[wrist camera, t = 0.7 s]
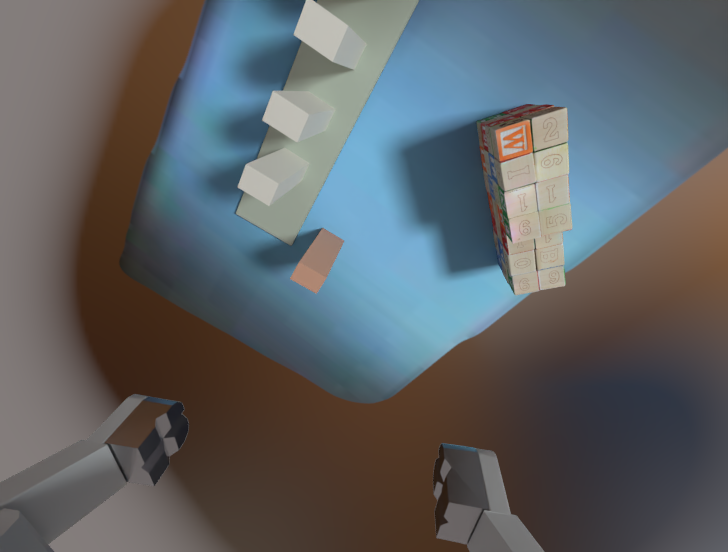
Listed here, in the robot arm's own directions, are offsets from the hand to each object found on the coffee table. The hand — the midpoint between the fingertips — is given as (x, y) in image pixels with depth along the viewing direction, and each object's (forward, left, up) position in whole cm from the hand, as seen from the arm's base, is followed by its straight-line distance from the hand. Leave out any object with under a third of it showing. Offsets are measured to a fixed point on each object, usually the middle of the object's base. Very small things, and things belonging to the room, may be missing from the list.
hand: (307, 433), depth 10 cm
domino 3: (+7, -12, -40) cm, 43 cm away
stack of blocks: (-6, +16, -41) cm, 45 cm away
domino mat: (-1, -12, -41) cm, 43 cm away
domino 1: (-9, -12, -40) cm, 43 cm away
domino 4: (+15, -2, -41) cm, 44 cm away
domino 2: (-1, -12, -40) cm, 42 cm away
